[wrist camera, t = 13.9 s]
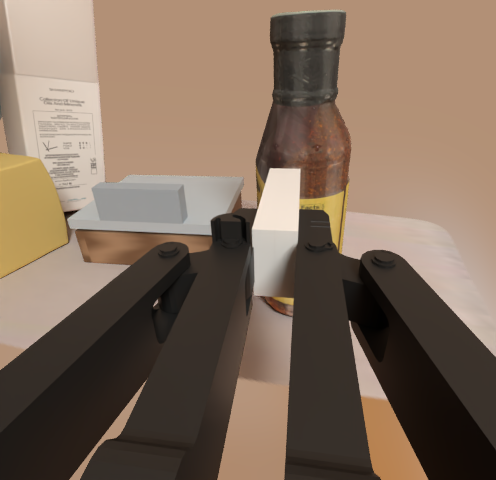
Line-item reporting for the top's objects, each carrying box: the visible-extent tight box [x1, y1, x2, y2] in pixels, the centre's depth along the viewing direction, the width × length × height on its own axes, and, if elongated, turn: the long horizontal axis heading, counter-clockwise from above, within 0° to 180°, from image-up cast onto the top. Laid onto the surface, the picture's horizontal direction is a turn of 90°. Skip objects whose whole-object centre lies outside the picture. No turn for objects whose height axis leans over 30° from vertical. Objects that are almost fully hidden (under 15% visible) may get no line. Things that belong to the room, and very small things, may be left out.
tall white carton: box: [0, 0, 106, 212], centre depth 41 cm, size 9×9×25 cm
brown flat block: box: [75, 192, 242, 265], centre depth 38 cm, size 14×13×4 cm
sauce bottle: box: [256, 10, 351, 316], centre depth 23 cm, size 6×6×20 cm
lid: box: [67, 175, 244, 235], centre depth 36 cm, size 15×13×4 cm
